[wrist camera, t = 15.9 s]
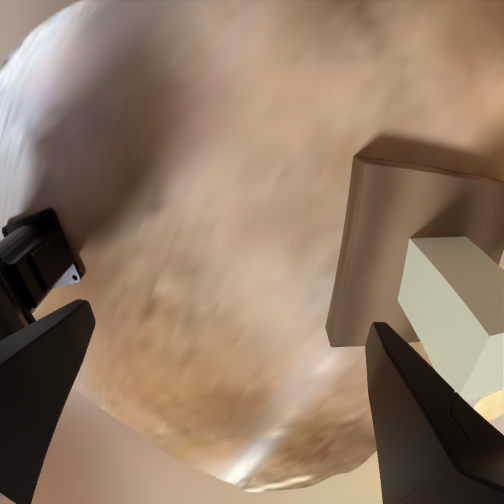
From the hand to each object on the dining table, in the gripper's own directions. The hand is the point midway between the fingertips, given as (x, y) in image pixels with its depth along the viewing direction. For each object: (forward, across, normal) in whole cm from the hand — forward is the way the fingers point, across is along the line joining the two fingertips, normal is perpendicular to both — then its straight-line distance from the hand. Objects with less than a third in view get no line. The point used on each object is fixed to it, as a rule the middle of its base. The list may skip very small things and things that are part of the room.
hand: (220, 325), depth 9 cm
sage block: (+12, -13, +5) cm, 18 cm away
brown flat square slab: (+15, -13, +5) cm, 20 cm away
